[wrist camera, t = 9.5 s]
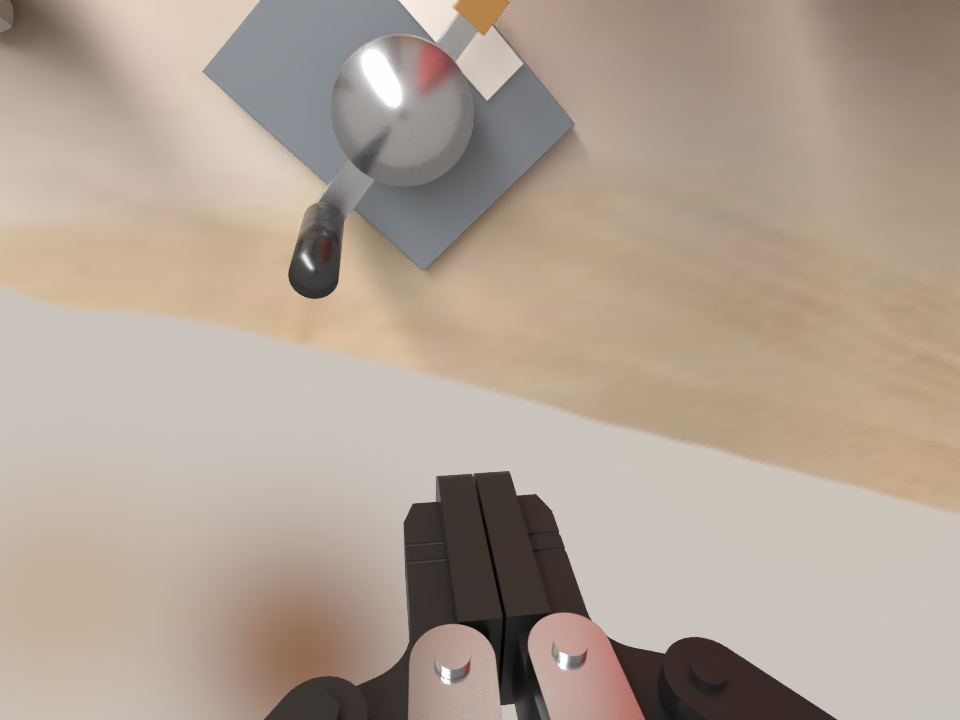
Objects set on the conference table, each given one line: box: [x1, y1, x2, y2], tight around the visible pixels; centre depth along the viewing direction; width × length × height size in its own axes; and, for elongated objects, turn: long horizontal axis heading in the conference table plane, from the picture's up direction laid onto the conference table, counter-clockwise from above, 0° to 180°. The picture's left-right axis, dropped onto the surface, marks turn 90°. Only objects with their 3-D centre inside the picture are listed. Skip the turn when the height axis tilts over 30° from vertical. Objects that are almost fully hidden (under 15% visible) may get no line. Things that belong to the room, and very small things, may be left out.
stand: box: [202, 0, 575, 271], centre depth 31 cm, size 11×14×4 cm
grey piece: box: [288, 0, 509, 299], centre depth 26 cm, size 6×13×8 cm, turn 140°
